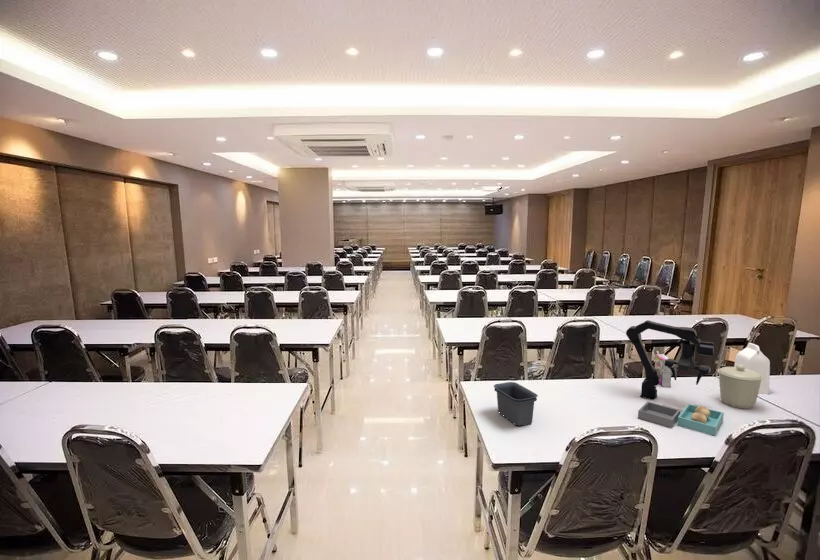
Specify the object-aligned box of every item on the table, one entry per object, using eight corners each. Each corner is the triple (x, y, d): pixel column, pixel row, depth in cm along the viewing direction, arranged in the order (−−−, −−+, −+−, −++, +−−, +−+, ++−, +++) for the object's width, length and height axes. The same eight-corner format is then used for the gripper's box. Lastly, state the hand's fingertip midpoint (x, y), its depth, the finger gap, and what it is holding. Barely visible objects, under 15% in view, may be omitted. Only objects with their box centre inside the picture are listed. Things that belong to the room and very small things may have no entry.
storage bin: (490, 411, 201) (490, 384, 199) (516, 406, 206) (516, 379, 205) (516, 430, 181) (516, 400, 180) (543, 424, 187) (544, 395, 185)
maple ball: (691, 416, 192) (692, 404, 191) (704, 416, 192) (704, 404, 191) (700, 421, 186) (700, 409, 185) (713, 421, 186) (713, 409, 185)
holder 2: (677, 425, 184) (677, 417, 184) (687, 411, 198) (688, 403, 197) (714, 436, 174) (715, 427, 174) (723, 420, 188) (723, 412, 187)
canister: (708, 396, 216) (711, 358, 213) (746, 398, 212) (749, 360, 209) (727, 410, 198) (730, 369, 196) (769, 413, 194) (773, 371, 192)
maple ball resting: (688, 425, 183) (689, 413, 182) (691, 421, 187) (692, 408, 186) (704, 430, 179) (705, 417, 178) (707, 425, 183) (708, 412, 182)
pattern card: (659, 409, 200) (659, 408, 200) (662, 405, 205) (662, 404, 205) (680, 415, 194) (680, 413, 194) (683, 411, 198) (683, 409, 198)
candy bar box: (653, 380, 239) (655, 353, 237) (662, 380, 238) (664, 354, 236) (661, 387, 228) (662, 359, 227) (670, 387, 227) (672, 360, 226)
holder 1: (637, 418, 191) (638, 410, 191) (646, 409, 201) (647, 401, 200) (671, 428, 181) (672, 419, 181) (679, 418, 191) (680, 410, 190)
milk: (731, 385, 230) (735, 341, 227) (753, 385, 229) (757, 341, 226) (745, 393, 218) (749, 347, 215) (769, 394, 217) (773, 347, 214)
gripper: (662, 352, 203) (660, 381, 205) (707, 360, 190) (705, 391, 192) (668, 347, 211) (666, 376, 213) (711, 355, 198) (709, 385, 199)
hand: (686, 382), depth 204 cm, fingers open, 9 cm apart
